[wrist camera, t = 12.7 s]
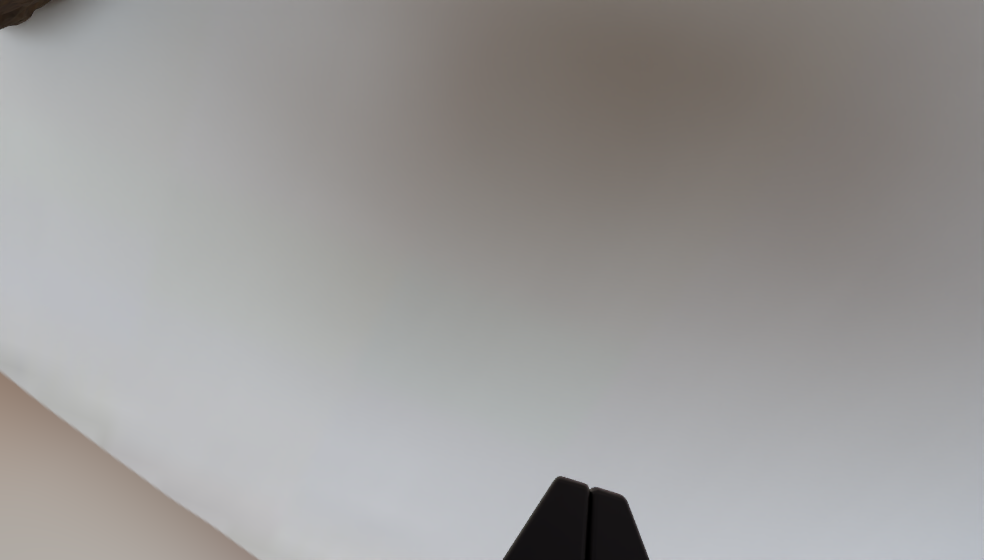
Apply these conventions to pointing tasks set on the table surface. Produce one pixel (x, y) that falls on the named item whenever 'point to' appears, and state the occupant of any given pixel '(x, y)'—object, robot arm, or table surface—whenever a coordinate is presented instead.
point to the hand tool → (18, 11)
